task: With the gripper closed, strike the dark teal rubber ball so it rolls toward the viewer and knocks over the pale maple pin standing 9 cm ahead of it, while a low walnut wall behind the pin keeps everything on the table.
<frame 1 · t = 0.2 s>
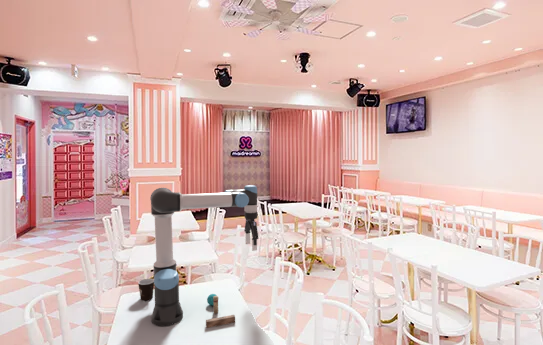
hand: (251, 247, 189), 28 cm above the table, tool pointing down, fingers open, 13 cm apart
ball: (212, 299, 175), on the table
coffee mug: (146, 299, 182), on the table
back wall: (220, 324, 156), on the table
pin: (215, 312, 167), on the table
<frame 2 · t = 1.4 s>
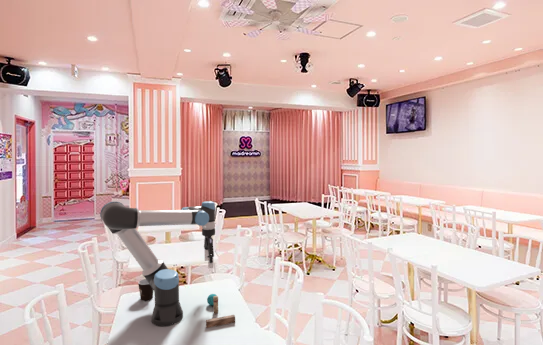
hand: (208, 264, 186), 19 cm above the table, tool pointing down, fingers open, 13 cm apart
nothing on the table moved.
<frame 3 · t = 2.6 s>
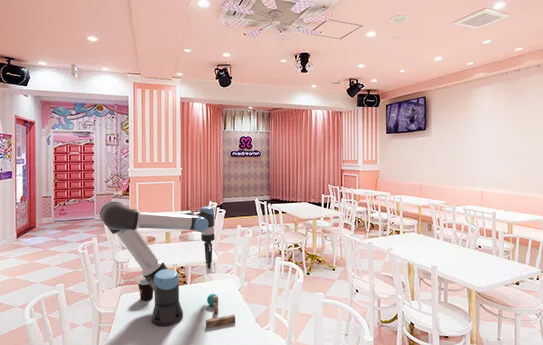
hand: (208, 273, 187), 13 cm above the table, tool pointing down, fingers closed
nothing on the table moved.
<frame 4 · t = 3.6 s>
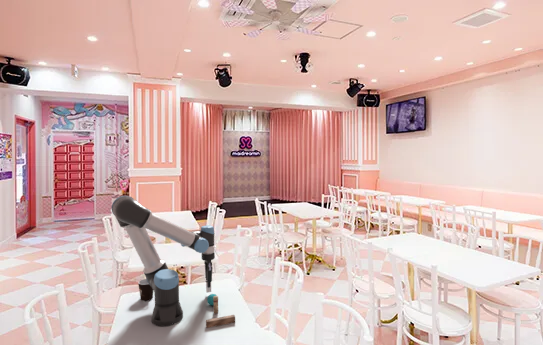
hand: (208, 291, 187), 2 cm above the table, tool pointing down, fingers closed
nothing on the table moved.
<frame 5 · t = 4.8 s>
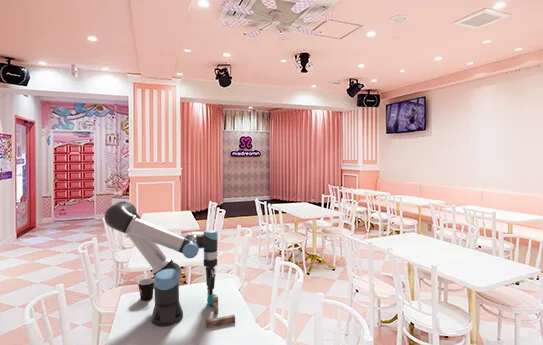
hand: (210, 299, 178), 2 cm above the table, tool pointing down, fingers closed
ball: (212, 299, 175), on the table, touching gripper
everything else where it was.
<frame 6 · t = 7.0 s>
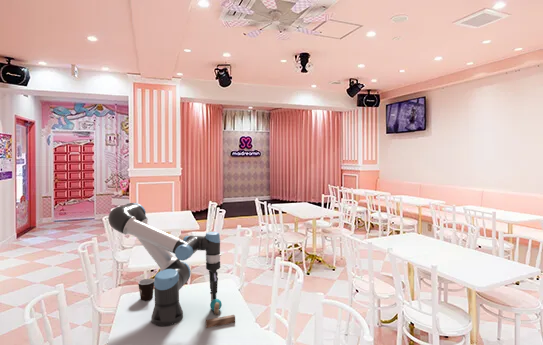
hand: (213, 303, 172), 2 cm above the table, tool pointing down, fingers closed
ball: (215, 304, 169), on the table, touching gripper, pin
pin: (216, 312, 166), point 1 cm above the table, tilted 38°, touching ball
everything else where it was.
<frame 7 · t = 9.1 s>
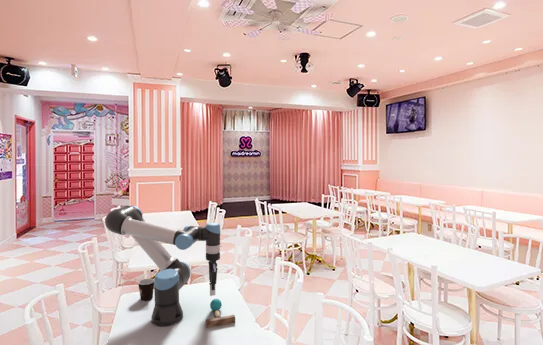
hand: (212, 294, 172), 7 cm above the table, tool pointing down, fingers closed
ball: (215, 304, 169), on the table
pin: (216, 312, 165), point 1 cm above the table, tilted 90°
everything else where it was.
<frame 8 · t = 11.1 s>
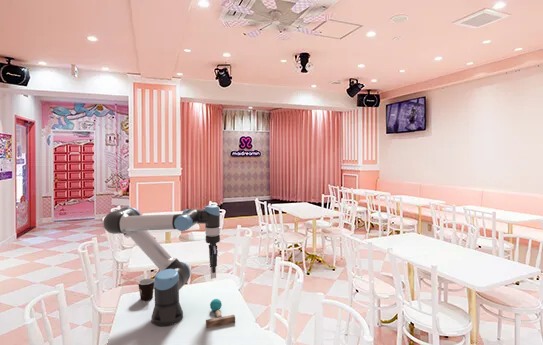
hand: (213, 277, 171), 16 cm above the table, tool pointing down, fingers closed
at the end: pin tilted 90°; pin never touched the robot; ball moved 6.6 cm from its start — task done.
